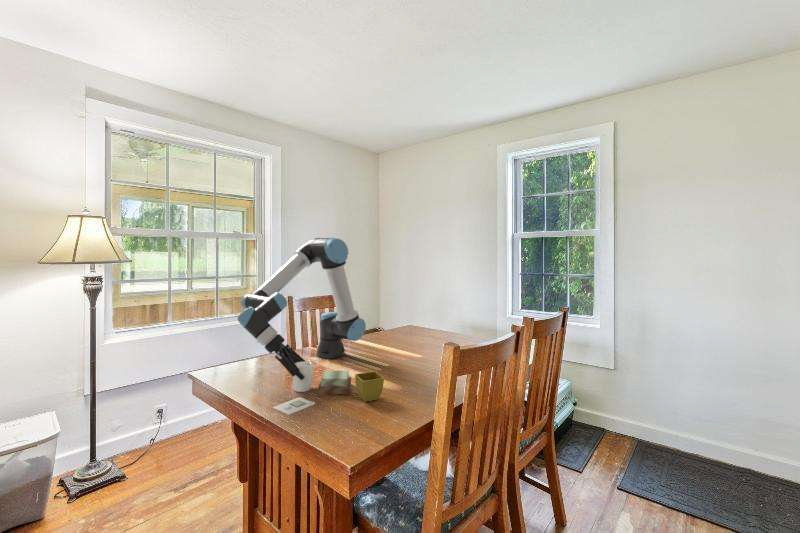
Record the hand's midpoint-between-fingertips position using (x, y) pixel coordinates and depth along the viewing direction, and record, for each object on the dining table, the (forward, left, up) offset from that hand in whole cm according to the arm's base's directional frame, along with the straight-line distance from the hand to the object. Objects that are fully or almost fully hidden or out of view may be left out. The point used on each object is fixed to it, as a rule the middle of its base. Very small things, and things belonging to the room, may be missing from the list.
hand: (311, 380), depth 147 cm
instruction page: (+11, +12, -4) cm, 17 cm away
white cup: (+3, -2, -4) cm, 5 cm away
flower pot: (-15, +20, -4) cm, 26 cm away
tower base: (-8, +5, -4) cm, 10 cm away
